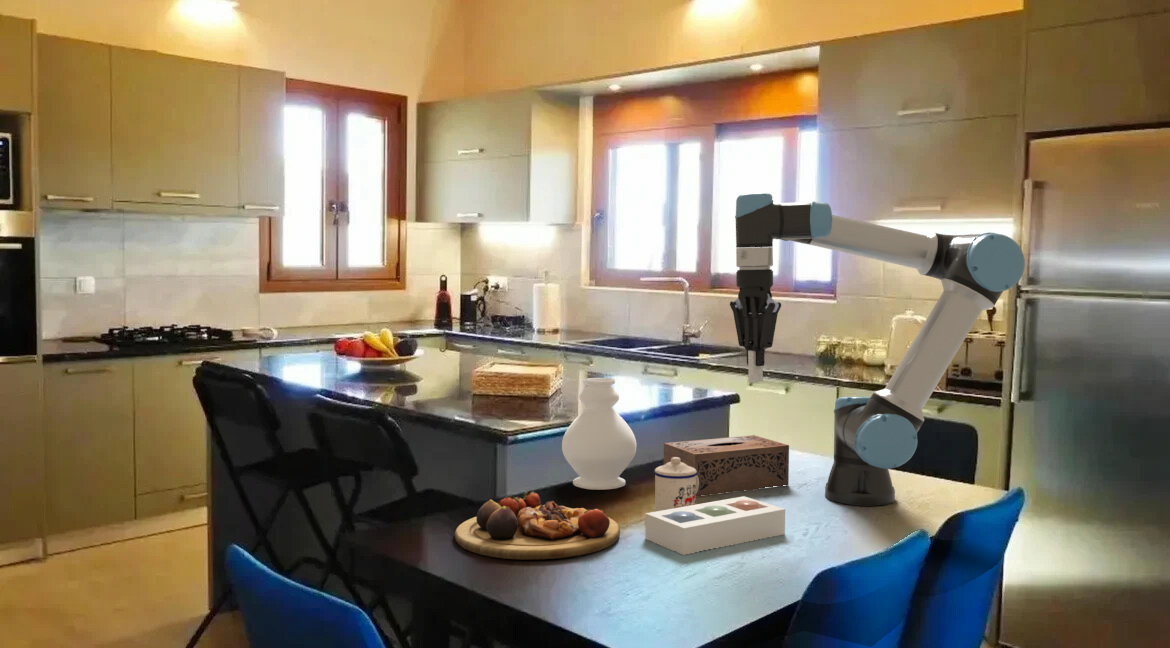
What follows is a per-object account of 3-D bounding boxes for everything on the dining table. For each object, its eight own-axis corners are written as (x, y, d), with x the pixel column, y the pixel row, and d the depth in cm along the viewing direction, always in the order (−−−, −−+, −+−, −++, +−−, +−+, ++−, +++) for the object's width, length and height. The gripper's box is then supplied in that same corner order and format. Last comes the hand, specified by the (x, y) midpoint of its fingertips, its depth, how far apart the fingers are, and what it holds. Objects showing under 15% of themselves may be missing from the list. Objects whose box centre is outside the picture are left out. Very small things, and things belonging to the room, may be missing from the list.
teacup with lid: (677, 520, 200) (678, 464, 199) (645, 511, 206) (645, 457, 205) (714, 509, 208) (714, 456, 207) (681, 501, 214) (681, 449, 214)
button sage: (717, 524, 191) (717, 504, 190) (732, 530, 187) (732, 509, 187) (698, 527, 188) (699, 507, 188) (714, 533, 184) (714, 513, 184)
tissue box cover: (753, 474, 243) (754, 435, 242) (788, 486, 230) (789, 445, 229) (663, 484, 232) (663, 443, 231) (694, 497, 219) (694, 454, 218)
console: (743, 520, 199) (743, 496, 199) (784, 534, 189) (785, 509, 189) (645, 538, 186) (645, 513, 186) (683, 555, 176) (684, 528, 176)
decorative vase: (649, 480, 234) (650, 378, 233) (611, 496, 219) (612, 386, 218) (587, 472, 244) (587, 373, 242) (547, 486, 229) (547, 381, 227)
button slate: (685, 530, 187) (685, 510, 186) (700, 536, 183) (700, 515, 182) (666, 534, 184) (666, 513, 184) (680, 540, 180) (681, 519, 180)
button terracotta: (747, 518, 195) (748, 499, 195) (763, 523, 191) (763, 504, 191) (730, 522, 193) (730, 502, 192) (745, 527, 189) (746, 507, 188)
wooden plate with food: (654, 538, 188) (654, 496, 187) (531, 574, 165) (531, 526, 165) (543, 510, 210) (543, 473, 210) (422, 539, 188) (421, 497, 188)
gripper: (719, 269, 204) (721, 380, 206) (764, 268, 193) (765, 386, 195) (745, 268, 208) (746, 376, 210) (790, 267, 198) (791, 382, 199)
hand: (755, 381), depth 202 cm, fingers closed
